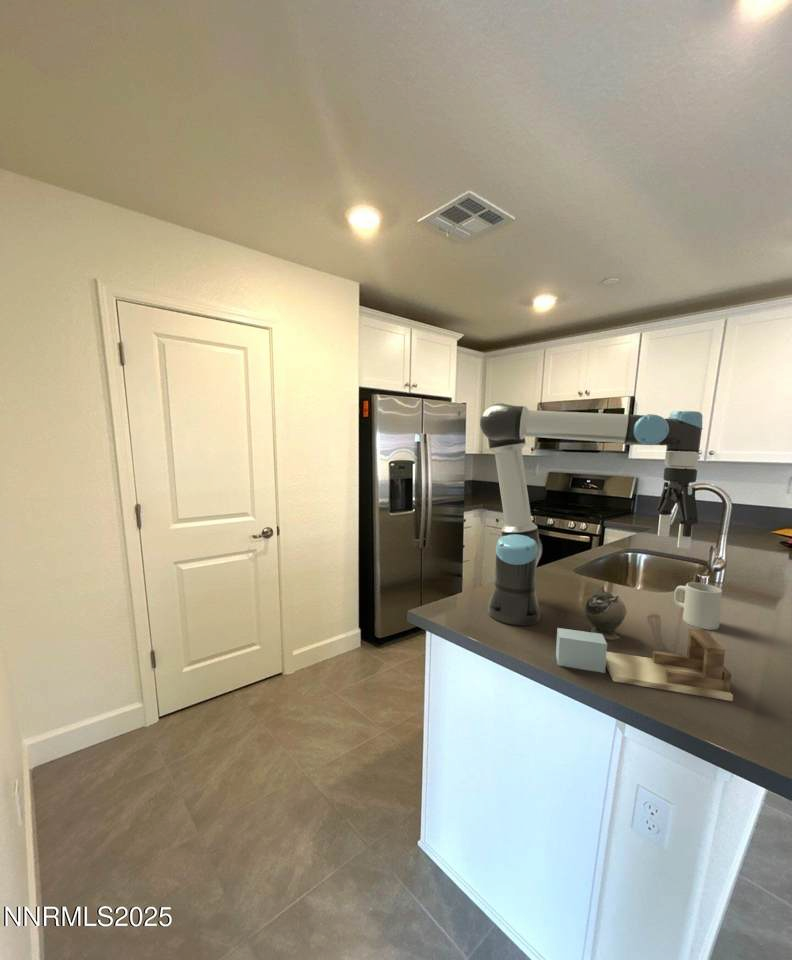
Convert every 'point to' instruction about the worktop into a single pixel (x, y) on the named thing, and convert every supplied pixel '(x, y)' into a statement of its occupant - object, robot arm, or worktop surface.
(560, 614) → the worktop surface
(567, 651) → the pale blue tall block
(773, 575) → the worktop surface
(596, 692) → the worktop surface
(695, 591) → the mug
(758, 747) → the worktop surface
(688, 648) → the rail board
